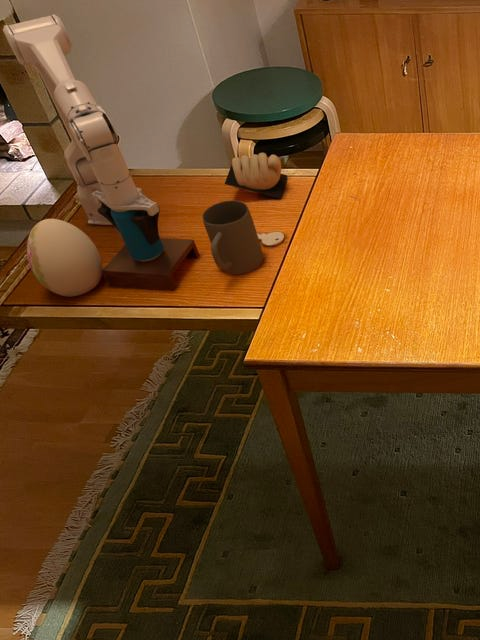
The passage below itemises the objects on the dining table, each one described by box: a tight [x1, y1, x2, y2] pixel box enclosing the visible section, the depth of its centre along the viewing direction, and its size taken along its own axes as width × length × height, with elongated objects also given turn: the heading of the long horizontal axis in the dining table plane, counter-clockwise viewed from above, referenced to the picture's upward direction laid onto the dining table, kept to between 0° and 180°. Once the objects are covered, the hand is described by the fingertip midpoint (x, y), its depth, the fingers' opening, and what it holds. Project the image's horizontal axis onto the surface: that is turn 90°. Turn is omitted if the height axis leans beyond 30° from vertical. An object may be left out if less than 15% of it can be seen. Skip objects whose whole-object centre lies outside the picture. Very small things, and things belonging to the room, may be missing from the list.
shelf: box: [102, 237, 200, 291], centre depth 147 cm, size 14×12×4 cm
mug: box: [202, 200, 264, 275], centre depth 143 cm, size 14×9×12 cm
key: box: [257, 231, 285, 247], centre depth 155 cm, size 11×1×5 cm
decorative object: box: [224, 152, 288, 200], centre depth 166 cm, size 13×10×10 cm
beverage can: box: [111, 209, 164, 261], centre depth 141 cm, size 6×6×12 cm
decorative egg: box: [26, 218, 103, 298], centre depth 141 cm, size 12×12×15 cm
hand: (141, 238), depth 142 cm, fingers closed on beverage can, 6 cm apart
